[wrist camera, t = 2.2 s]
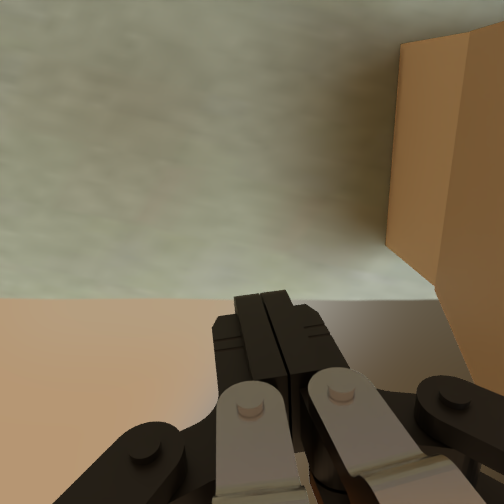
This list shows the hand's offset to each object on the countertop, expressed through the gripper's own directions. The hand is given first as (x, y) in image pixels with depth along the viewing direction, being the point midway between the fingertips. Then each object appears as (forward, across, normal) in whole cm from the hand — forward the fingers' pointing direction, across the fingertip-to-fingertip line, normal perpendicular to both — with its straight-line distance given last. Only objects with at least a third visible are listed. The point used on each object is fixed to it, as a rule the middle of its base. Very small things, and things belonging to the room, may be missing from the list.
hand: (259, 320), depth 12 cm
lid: (+6, -13, 0) cm, 14 cm away
